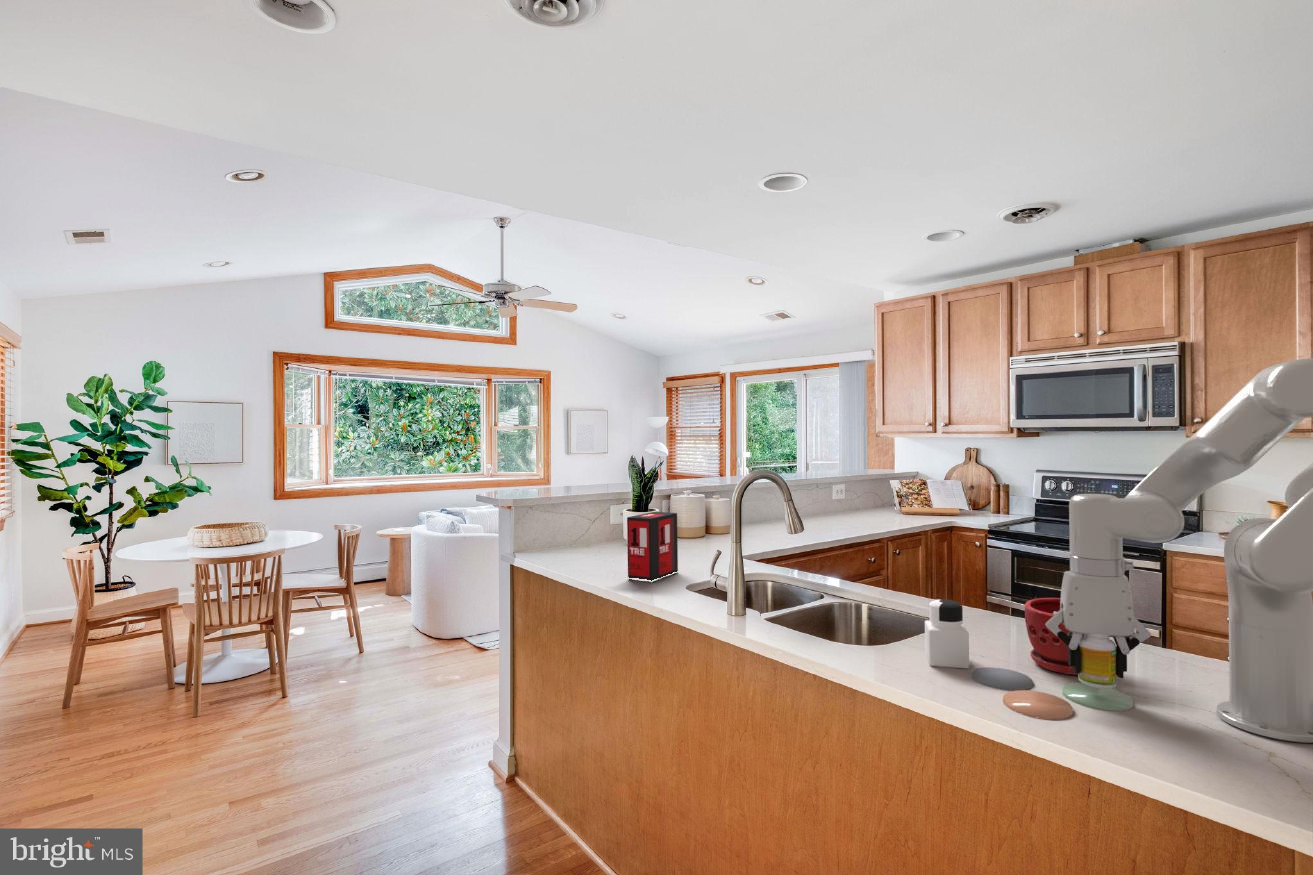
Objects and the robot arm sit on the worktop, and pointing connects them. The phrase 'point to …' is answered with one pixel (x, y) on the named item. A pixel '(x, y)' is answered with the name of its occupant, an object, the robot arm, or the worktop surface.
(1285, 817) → the worktop surface
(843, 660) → the worktop surface
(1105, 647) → the supplement bottle
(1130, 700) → the sage green coaster
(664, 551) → the cleaning product box
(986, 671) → the slate grey coaster
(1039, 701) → the peach coaster
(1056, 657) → the plant pot
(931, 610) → the medicine bottle
